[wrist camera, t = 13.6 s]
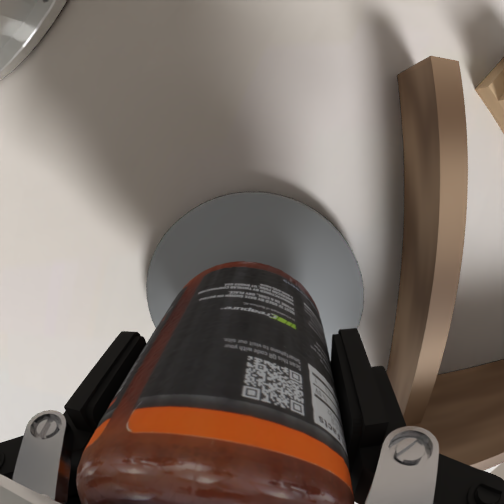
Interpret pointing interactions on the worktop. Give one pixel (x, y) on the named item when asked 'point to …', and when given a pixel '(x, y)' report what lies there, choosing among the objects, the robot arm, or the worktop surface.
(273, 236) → the slate pad
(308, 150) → the worktop surface
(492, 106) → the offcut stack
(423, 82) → the walnut rack
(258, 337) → the supplement bottle
